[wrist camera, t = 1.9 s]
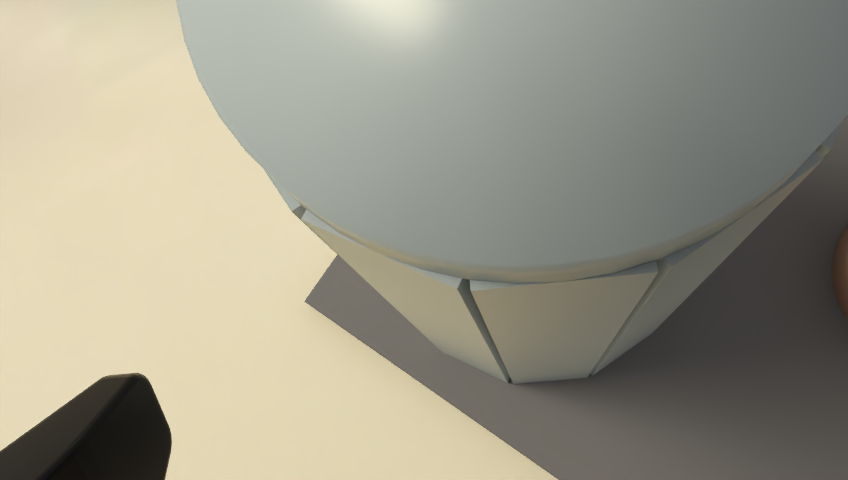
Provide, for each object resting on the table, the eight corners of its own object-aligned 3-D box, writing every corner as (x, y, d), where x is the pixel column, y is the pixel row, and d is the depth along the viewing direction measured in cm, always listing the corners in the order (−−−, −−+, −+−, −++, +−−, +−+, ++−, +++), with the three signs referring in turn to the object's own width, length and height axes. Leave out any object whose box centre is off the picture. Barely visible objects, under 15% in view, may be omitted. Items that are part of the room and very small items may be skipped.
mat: (860, 689, 16) (869, 697, 16) (310, 304, 20) (304, 301, 20) (1134, 193, 18) (1150, 186, 18) (577, -75, 22) (578, -86, 22)
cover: (701, 367, 18) (1017, 215, 6) (405, 393, 19) (169, 303, 7) (655, 93, 20) (828, -438, 8) (387, 127, 21) (178, -307, 9)
